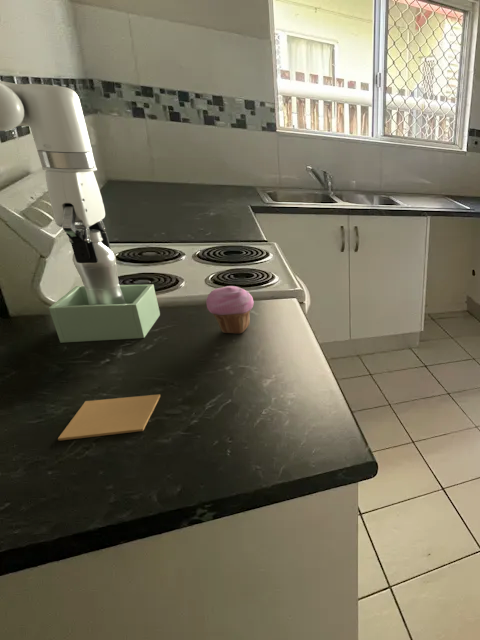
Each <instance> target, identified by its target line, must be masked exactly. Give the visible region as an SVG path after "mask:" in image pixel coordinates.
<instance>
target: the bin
mask: <svg viewBox="0 0 480 640" xmlns="http://www.w3.org/2000/svg"><path fill="white" fill-rule="evenodd" d="M119 285H120V289H121V292H122V294H123V297H124V299H125V302H126V303H127V304H105V305H89V303H88V298H87V292H86V290H85V286H84V285H76V286H74V287H73V288H72V289H71V290H69V291H68V292H67V293H65V294H64V295H63V296H62V297H61V298H59V299H58V300H56V301H55V302H54V303H53V304H52V305H50V306H49V307H48V310H49V313H50V316H51V319H52V322H53V325H54V328H55V331H56V333H57V337H58V339H59V340H58V341H59V343H62V344H63V343H79V342H96V341H97V342H98V341H110V340H111V341H112V340H116V341H117V340H131V339H132V340H133V339H145V338H146V336H147V335H148V333H149V332H150V330H151V329H152V327H153V326H154V325H155V323H156V322H157V320H158V319H159V317H160V316H161V311H160V308H159V303H158V299H157V295H156V289H155V285H154V283H152V284H151V283H149V284H147V283H146V284H119Z"/></svg>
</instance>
